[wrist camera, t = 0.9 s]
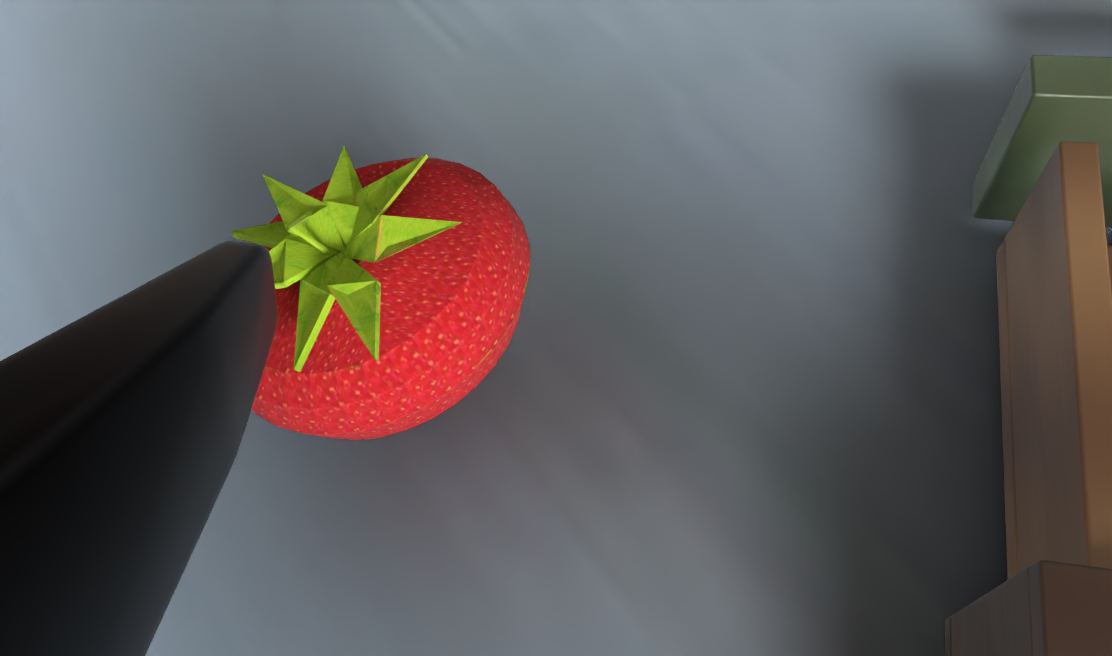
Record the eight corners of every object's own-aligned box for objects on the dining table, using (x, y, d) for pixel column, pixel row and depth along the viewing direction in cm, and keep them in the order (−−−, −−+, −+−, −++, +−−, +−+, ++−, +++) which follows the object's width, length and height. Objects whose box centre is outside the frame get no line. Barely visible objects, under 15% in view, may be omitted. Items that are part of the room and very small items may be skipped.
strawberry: (607, 380, 25) (557, 163, 16) (379, 551, 24) (191, 419, 15) (487, 240, 28) (388, -14, 19) (276, 389, 26) (61, 193, 18)
